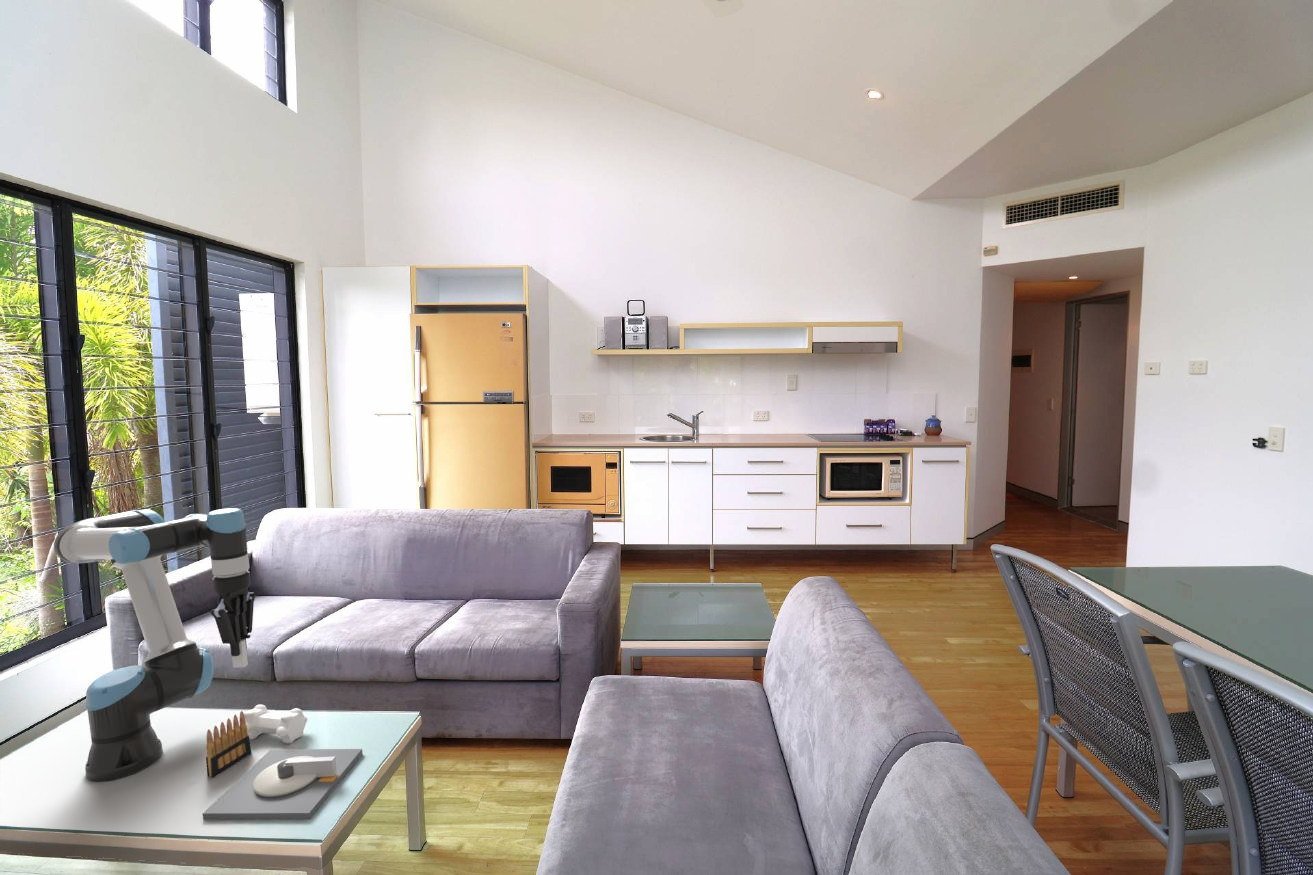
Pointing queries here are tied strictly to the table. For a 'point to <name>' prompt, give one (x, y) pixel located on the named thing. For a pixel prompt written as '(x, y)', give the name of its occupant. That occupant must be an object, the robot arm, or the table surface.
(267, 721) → the white bone
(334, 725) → the table surface
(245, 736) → the ammunition clip
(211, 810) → the dial base
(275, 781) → the dial
